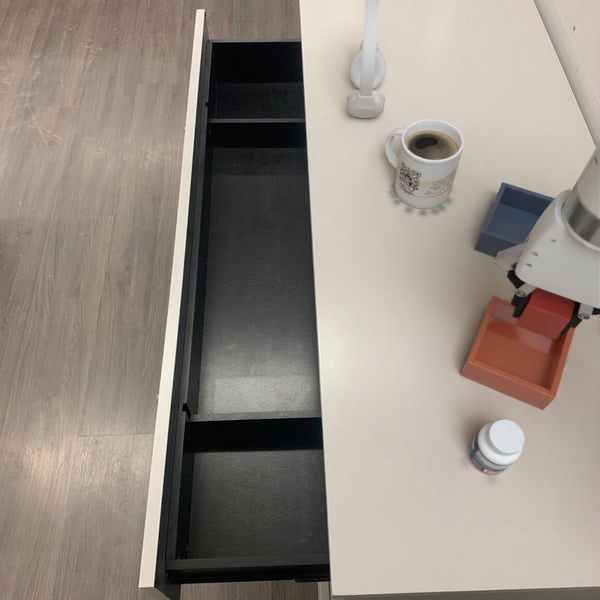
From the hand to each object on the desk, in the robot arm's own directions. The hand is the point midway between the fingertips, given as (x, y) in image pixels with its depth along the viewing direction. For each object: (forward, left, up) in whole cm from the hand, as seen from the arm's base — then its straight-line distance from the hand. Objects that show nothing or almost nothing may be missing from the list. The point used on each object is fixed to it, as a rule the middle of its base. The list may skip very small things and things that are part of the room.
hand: (540, 315), depth 60 cm
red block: (0, 0, 0) cm, 0 cm away
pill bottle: (-2, +12, -17) cm, 21 cm away
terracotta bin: (-1, -3, -17) cm, 17 cm away
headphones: (+40, -45, -17) cm, 63 cm away
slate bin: (+4, -25, -17) cm, 31 cm away
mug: (+23, -29, -17) cm, 41 cm away
